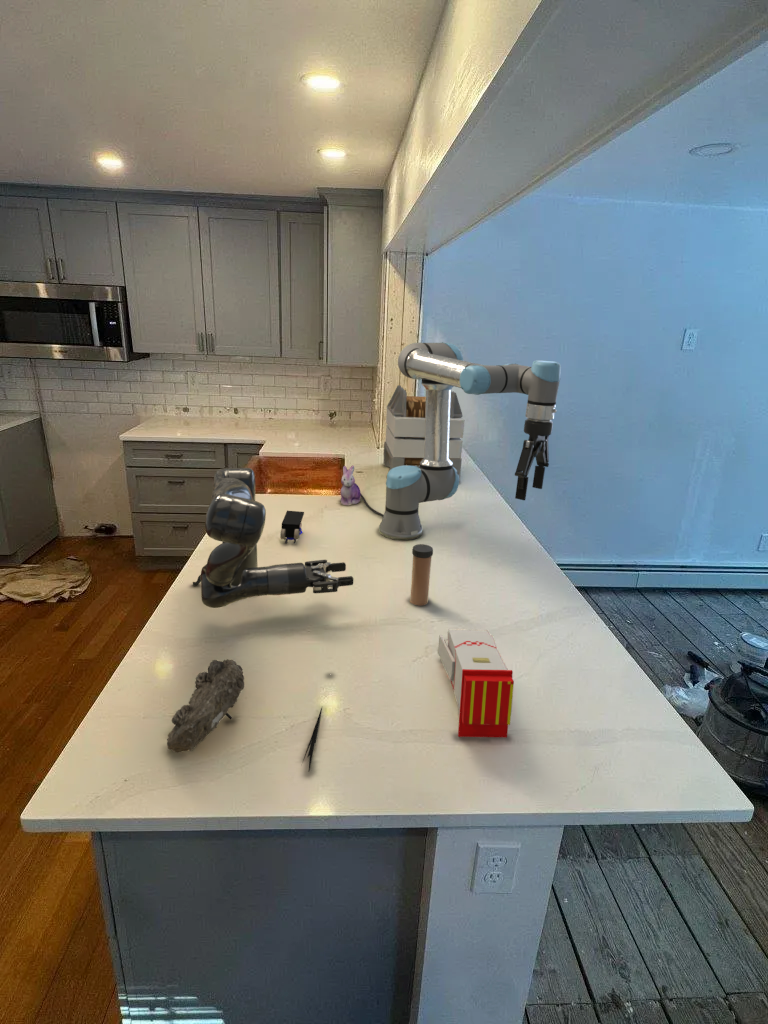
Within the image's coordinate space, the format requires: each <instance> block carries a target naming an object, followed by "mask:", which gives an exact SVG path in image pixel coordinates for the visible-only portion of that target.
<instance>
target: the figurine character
mask: <svg viewBox="0 0 768 1024" xmlns="http://www.w3.org/2000/svg"><path fill="white" fill-rule="evenodd" d="M304 515H305V511H296V510H286V512H285V515H284V518H283V519H282V521H281V529H280V535H279V537H280V540H284V544H288V541H293V544H294V545H295V544H296V543H297V540H299V539H300V536H301V535H302V534H304V533H303V530H302V528H303V527H302V526H303V524H302V521H303V517H304Z"/></svg>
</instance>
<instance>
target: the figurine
mask: <svg viewBox="0 0 768 1024" xmlns="http://www.w3.org/2000/svg"><path fill="white" fill-rule="evenodd" d="M354 471H355V465H354V464H353V465H351V466H350V467H349V468H347V466H346V465H343V467H342V477H341V480H340V482H341V484H342V486H341V488H340V500H339V501H340V503H341V505H345V506H351V505H356V504H359V503H360V502H361V494H362V492H361V488H360V486H359V485H358V484H357V483H356V479H355V476H354Z"/></svg>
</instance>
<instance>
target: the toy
mask: <svg viewBox="0 0 768 1024" xmlns="http://www.w3.org/2000/svg"><path fill="white" fill-rule="evenodd" d="M446 640H447V643H446V641H445V639H444V636H443V635H442V634H439V637H438V646H437V656H438V657H439V659H440V661H441V663H442V666H443V668H444V670H445V672H446V674H447V677H448V679H449V681H450V684H451V687H452V690H453V693H454V697H455V701H456V705H457V708H458V711H459V714H458V715H459V716H458V730H457V731H458V732H457V737H458V738H508V731H509V726H510V725H511V717H512V707H513V697H514V696H513V695H514V684H515V680H514V679H513V673H514V671H513V670H512V669H508V667H507V665H506V662H505V661H504V659H503V658H502V655H501V653H500V651H499V649H498V647H497V643H496V639H495V637H494V635H493V634H491V632H490V631H489V629H467V628H466V629H465V628H463V629H461V628H460V629H459V628H448V630H447V639H446Z"/></svg>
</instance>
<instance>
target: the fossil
mask: <svg viewBox="0 0 768 1024" xmlns="http://www.w3.org/2000/svg"><path fill="white" fill-rule="evenodd" d="M243 670H244V669H243V667H242V665H240V664H237V662H236V661H235V660H234V659H232V658H231V659H227V658H226V659H224V660H223V661H222V660H217V659H212V660H211V661H210V663H209V665H208V666H207V671H201V672H199V673H198V674H197V675H196V676H195V680H194V684H195V685H194V687H195V689H194V690H193V693H192V694H191V697H190V698H189V700H188V704H184V705H182V706H181V707H180V709H177V710H176V711H175V713H174V715H173V716H172V718H171V723H172V724H173V727H172V730H171V731H170V732H168V734H167V738H166V741H167V742H166V745H167V749H168V750H169V751H173V752H174V753H176V754H178V753H182V752H188V751H189V752H192V751H193V750H195V748H196V747H197V746H199V744H200V743H201V742H203V741H204V740H205V739H206V738H207V737H208V736H209V735H210V734H211V733H212V732H214V730H215V729H217V727H218V726H219V724H220V722H221V721H222V720H223V719H224V718H225V716H226V717H227V719H229V720H233V717H232V715H230V714H229V710H230V709H231V708H234V706H235V704H236V703H237V702H238V699H239V697H240V695H241V693H242V691H243V690H245V689H244V688H245V675H244V671H243Z"/></svg>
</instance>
